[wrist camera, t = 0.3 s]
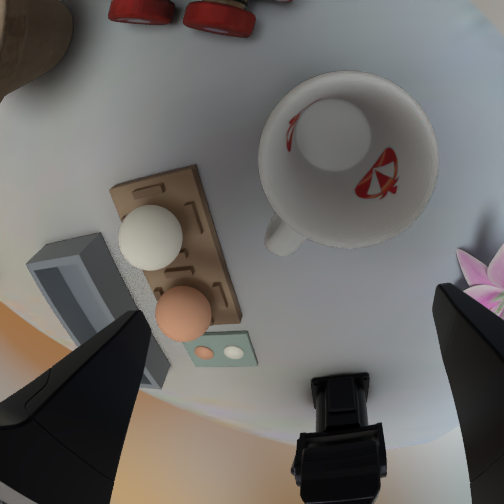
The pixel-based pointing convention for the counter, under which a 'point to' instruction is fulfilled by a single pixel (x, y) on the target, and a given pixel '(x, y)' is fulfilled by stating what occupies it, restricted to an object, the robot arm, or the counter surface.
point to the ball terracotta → (183, 313)
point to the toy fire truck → (189, 15)
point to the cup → (345, 162)
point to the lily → (485, 280)
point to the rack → (185, 238)
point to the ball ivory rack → (150, 237)
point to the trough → (89, 294)
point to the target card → (222, 350)
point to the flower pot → (31, 40)
